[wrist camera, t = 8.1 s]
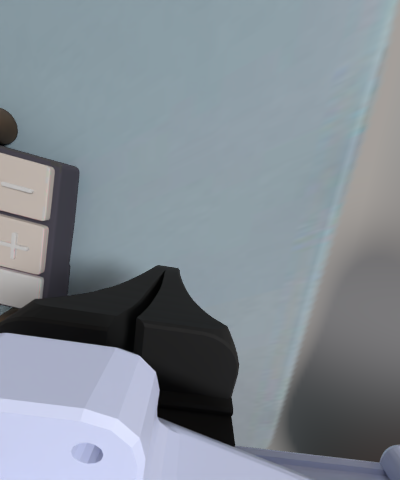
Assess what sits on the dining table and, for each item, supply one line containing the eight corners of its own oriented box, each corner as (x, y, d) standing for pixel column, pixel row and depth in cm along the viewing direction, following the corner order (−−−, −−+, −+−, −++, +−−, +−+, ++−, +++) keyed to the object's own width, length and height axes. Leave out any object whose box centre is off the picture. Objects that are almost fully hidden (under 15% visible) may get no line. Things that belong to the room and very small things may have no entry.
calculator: (55, 161, 15) (39, 320, 18) (86, 169, 19) (68, 297, 23) (-91, 120, 14) (-82, 293, 18) (-27, 137, 19) (-29, 275, 22)
